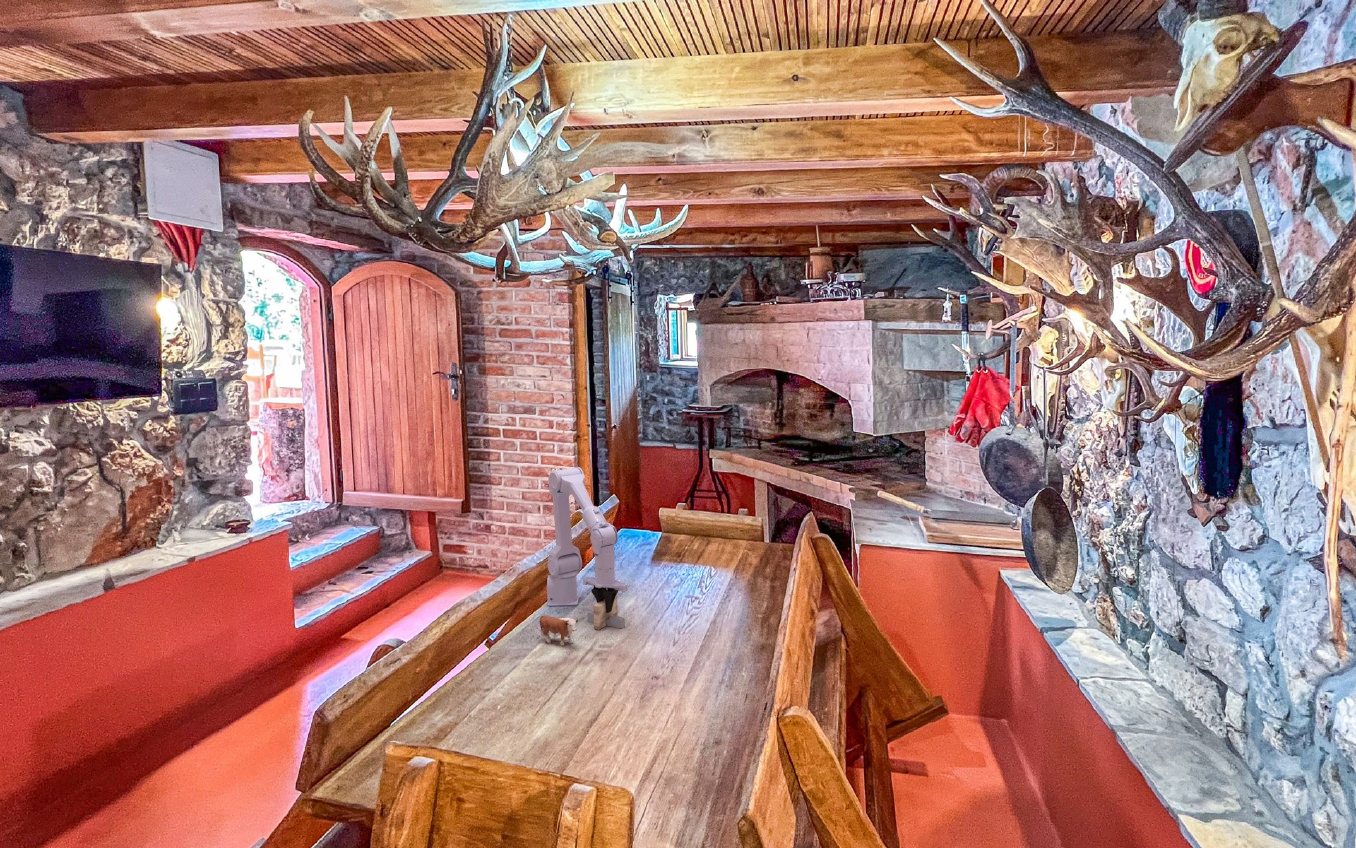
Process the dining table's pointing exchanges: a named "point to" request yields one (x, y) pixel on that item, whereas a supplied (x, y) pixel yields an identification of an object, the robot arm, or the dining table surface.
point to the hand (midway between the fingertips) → (605, 611)
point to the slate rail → (608, 620)
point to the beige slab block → (603, 613)
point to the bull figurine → (557, 627)
